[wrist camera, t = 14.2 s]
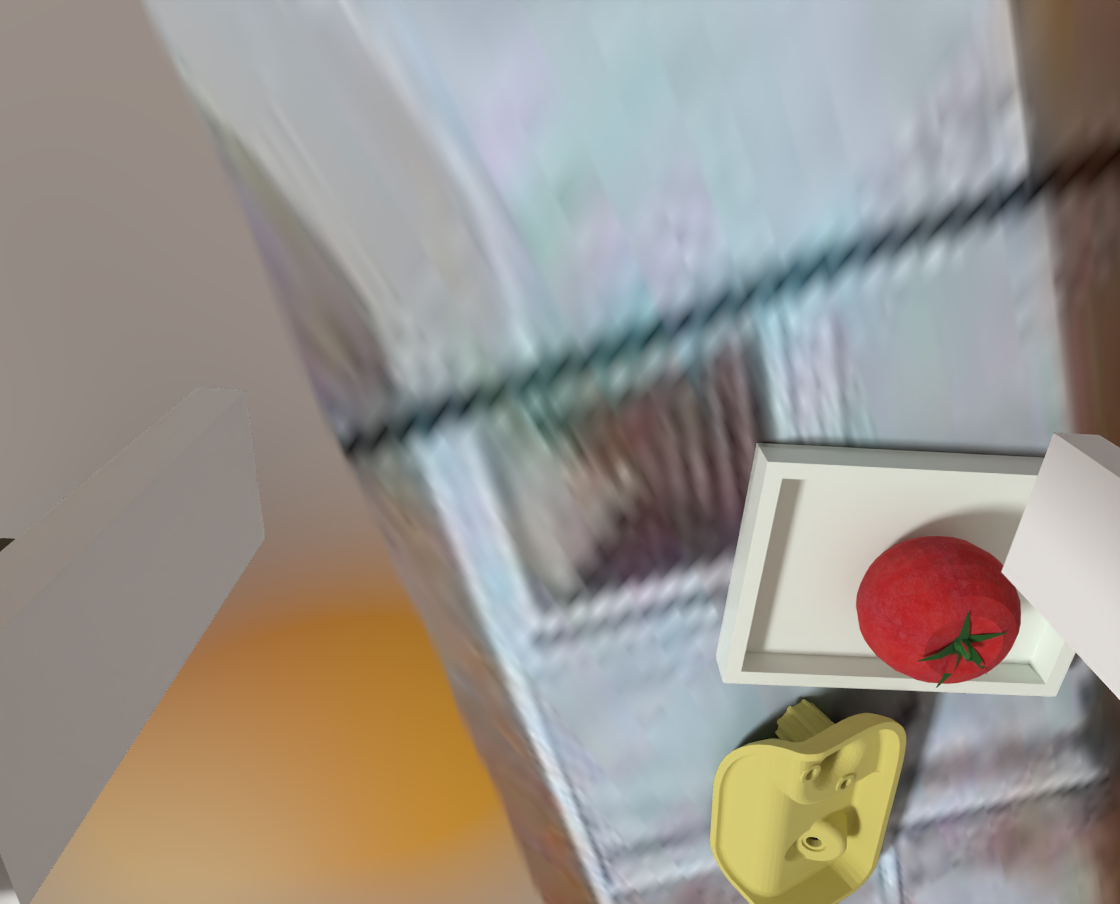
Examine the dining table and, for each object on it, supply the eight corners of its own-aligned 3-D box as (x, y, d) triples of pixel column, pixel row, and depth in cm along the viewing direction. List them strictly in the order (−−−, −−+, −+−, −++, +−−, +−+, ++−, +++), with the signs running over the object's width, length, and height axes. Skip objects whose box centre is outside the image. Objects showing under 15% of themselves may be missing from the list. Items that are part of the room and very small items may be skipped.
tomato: (890, 650, 50) (947, 745, 43) (809, 573, 47) (855, 660, 40) (1008, 571, 47) (1089, 658, 40) (929, 485, 45) (1002, 561, 37)
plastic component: (873, 880, 58) (770, 946, 54) (805, 804, 64) (708, 859, 60) (919, 700, 48) (797, 766, 44) (834, 629, 54) (720, 682, 50)
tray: (756, 442, 44) (767, 461, 42) (1123, 461, 45) (1153, 481, 42) (715, 656, 51) (723, 682, 49) (1033, 670, 52) (1055, 696, 49)
